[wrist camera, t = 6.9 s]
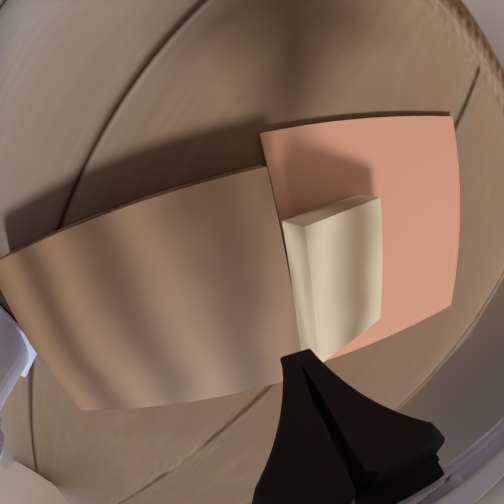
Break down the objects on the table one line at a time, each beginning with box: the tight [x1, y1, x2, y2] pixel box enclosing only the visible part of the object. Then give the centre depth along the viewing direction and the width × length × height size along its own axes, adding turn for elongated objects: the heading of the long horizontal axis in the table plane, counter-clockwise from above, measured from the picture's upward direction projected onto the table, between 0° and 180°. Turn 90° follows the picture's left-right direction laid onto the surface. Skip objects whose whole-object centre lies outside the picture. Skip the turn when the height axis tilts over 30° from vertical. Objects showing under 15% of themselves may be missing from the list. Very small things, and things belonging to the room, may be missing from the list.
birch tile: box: [282, 195, 383, 362], centre depth 18 cm, size 7×10×2 cm
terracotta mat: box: [259, 116, 460, 361], centre depth 20 cm, size 18×20×1 cm
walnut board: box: [0, 165, 301, 410], centre depth 18 cm, size 22×16×3 cm
